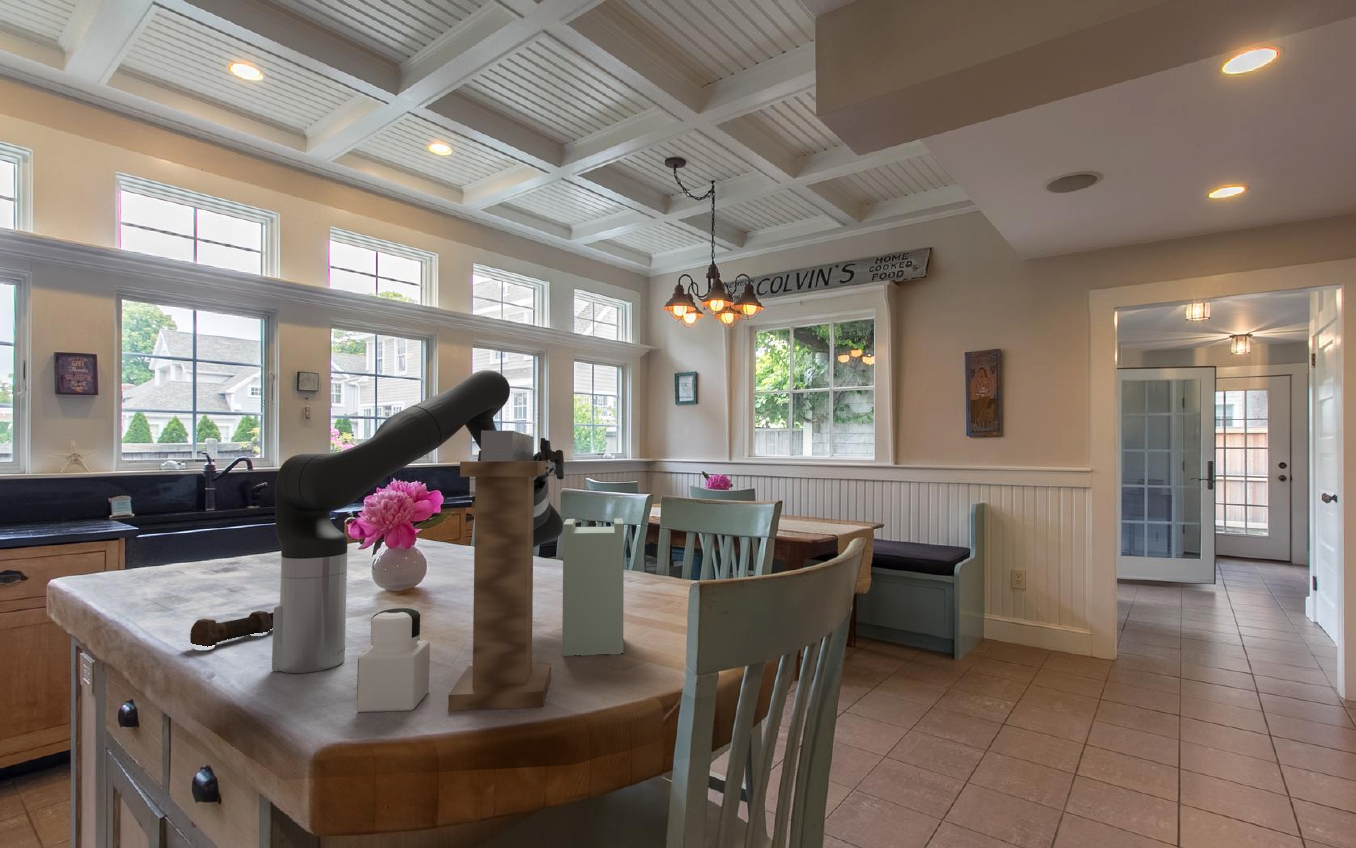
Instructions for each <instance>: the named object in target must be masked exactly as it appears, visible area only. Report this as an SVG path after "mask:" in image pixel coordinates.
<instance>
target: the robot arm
mask: <svg viewBox="0 0 1356 848" xmlns="http://www.w3.org/2000/svg"><path fill="white" fill-rule="evenodd" d="M508 381H509V380H507V378H506V377H505V376H504V375H503V374H501V373H500V372H497V371H496V370H492V369H481V370H478V371H475V372H474V373H471V375H469V376H468V377H466V378H465V379H464V380H462V381H460V382H459V383H458V384H456V385H455V386H453V387H451V388H449V389H447V390H445V391H442V392H440V393H437V394H436V395H435V394H434V395H433V396H431V397H428V398H427V399H424V400H422V401H420V402H418V403H416V404H413V405H411V406H409V407H406V408H404V409H403V410H401V411H398V412H396V413H395V414H393V415H391V416H388V418H386V419H385V420H384V421H383V422H382V423H381V424H380V425H379V426H378V429H377V430H376V432H375V433H374V434H373V435H372V436H371V437H369V439H367V440H365V441H363V442H361V443H358V444H357V445H354V446H352V447H350V448H347V449H344V450H342V451H341V450H340V451H337V452H331V453H301V454H296V455H293V456H291V457H289V458H288V459H287V460H285V461H284V462H283V463H282V465H281V466H280V468H279V470H278V472H277V475H276V479H275V484H274V487H275V488H274V510H275V512H274V513H275V534H276V538H277V541H278V543H279V545H280V550H281V552H280V554H281V555H280V556H281V557H280V593H279V605H277V606H274V608H273V612H274V613H273V612H272V613H273V630H272V645H271V646H272V653H271V671H272V670H280V671H279V672H283V673H288V674H299V673H302V674H303V673H311V672H319V671H323V670H328V669H331V668H333V667H336V666H339V665H340V664H342V663H344V661H345V659H346V658H345V655H346V627H347V626H346V623H347V621H346V620H347V617H346V616H347V585H348V584H347V583H348V582H347V581H348V578H347V577H348V571H347V570H348V547H349V546H348V543H349V542H348V538H347V537H348V536H347V535H346V534H345V533H343V532H342V531H341V530H340V529H338V528H337V527H336V526H335V525H334V524H333V522H332V519H331V512H335V511H339V510H342V509H345V508H346V507H348V506H349V505H351V504H353V503H354V502H355V501H357V500H358V499H359V498H360V497H362V496H364V495H365V494H366V493H367V492H369V491H370V490H371V489H372V488H374V487H375V486H376V485H377V484H379V483H380V482H382V481H383V480H384V479H385V478H387V477H388V476H390V475H392V474H394V473H396V472H398V471H400V470H401V469H404V468H405V467H406V466H408V465H410V464H411V463H413V462H415V461H417V460H419V459H421V458H423V457H424V456H426V455H427V454H429V453H431V452H433V451H435V450H436V449H438V448H439V447H440V446H442V445H443V444H444V443H446V442H447V441H448V440H449V439H451V438H452V437H453V436H454V435H455V434H457V432H458V431H459V430H461V429H462V428H463V427H464V426H465V428H466V429H467V430H468V432H469V434H470V435H471V436H472V439H473V440H474V442H475V443H476V445H477V446H478V448H479V449H480V450H479V451H478V454H477V455H478V456H477V457H478V458H477V461H481V431H498V430H497V427H496V424H495V421H494V417H495V416H496V415H497V414H498V413H499V412H500V410H501V409H502V408H503V407H504V406H506V404H507V402H508V401H509V398H510V393H511V388H510V383H509V382H508ZM551 447H552V446H551V442H550V440H549V439H548V440H547V439H546V436H544V437H543V436H542V437H540V443H539V448H540V450H539V451H538V452H537V453H535V454H533V461H546V475H541V476H534V519H533V549H534V548H536V547H539V546H540V545H541V546H542V545H543V544H546V543H548V542H550V541H553V540H555V539H557V538H559V537H560V536H561V534H562V533H563V524H564V523H563V522H564V521H563V518H562V517H561V514H560V513H559V512H558V511H557V510H556V509H555V507H554V506H553V505H552V504H551V503H550V487H549V480H548V478H549V476H555V477H556V479H557V480H561V481H563V480H565V478H564V477H565V458H564V451H563V450H562V449H556V450H555V451H553V449H552V448H551ZM551 463H554V464H553V465H552V466H551V467H549V465H551Z"/></svg>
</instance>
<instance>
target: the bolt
mask: <svg viewBox="0 0 1356 848" xmlns="http://www.w3.org/2000/svg"><path fill="white" fill-rule="evenodd" d="M273 613H274V611H273V612H268V611H264V610H263V611H262V610H259V611H258V610H256V611H252V612H251V613H250V614H249V616H248V617H242V618H237V619H233V620H228V621H221V622H217V620H214V619H207V618H202V619H198V620H196V621H195V622H194V623H193V625H192V626H191V629H190V634H189V640H190V644H191V643H192V644H196V645H202V646H207V647H208V646H212V645H216V646H217V644H218V643H217V642H219V643H221V642H224V641H229V640H233V639H232V638H234V639H237V638H236V637H238V638H241V637H242V636H243V637H247V636H246V635H248V636H250V634H254V633H263V632H268V631H269V632H271V631H270V629H272V628H273ZM227 639H228V640H227Z"/></svg>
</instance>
